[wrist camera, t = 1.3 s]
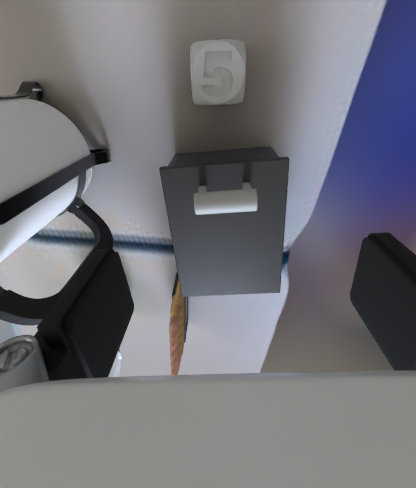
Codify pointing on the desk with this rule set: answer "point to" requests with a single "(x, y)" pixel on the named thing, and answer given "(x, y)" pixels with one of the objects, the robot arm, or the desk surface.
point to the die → (218, 71)
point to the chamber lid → (227, 224)
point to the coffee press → (41, 186)
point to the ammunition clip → (177, 326)
